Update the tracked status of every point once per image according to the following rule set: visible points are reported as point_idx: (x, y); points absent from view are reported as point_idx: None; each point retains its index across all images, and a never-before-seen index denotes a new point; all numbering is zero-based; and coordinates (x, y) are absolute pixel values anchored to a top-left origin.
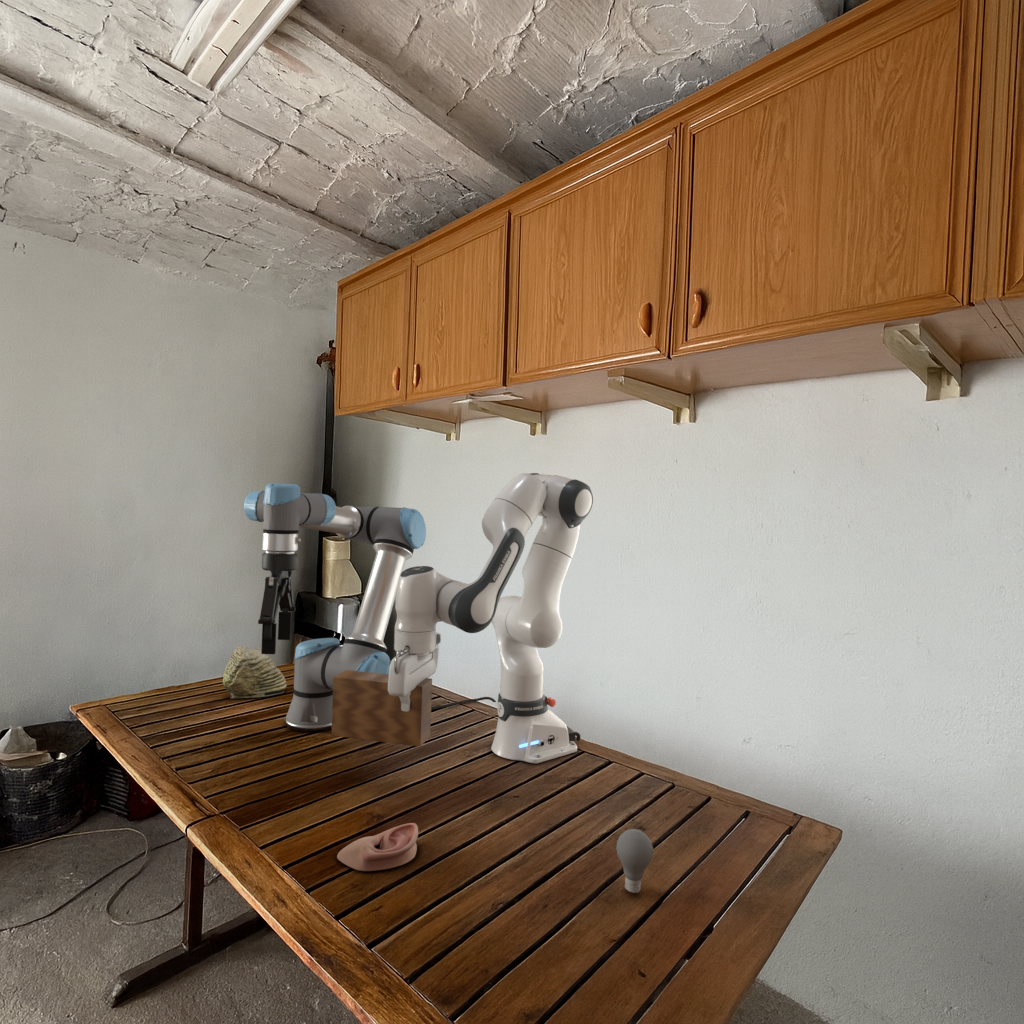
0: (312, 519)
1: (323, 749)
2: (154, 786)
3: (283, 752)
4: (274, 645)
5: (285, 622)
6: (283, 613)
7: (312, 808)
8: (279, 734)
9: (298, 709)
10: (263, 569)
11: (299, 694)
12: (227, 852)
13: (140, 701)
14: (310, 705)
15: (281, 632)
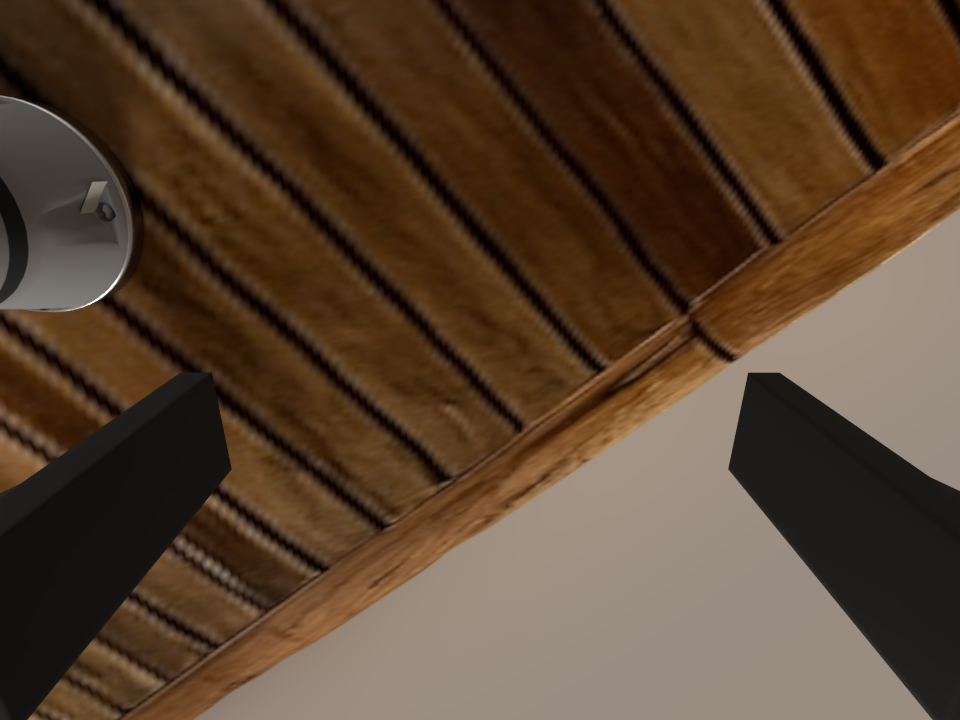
0: None
1: (276, 125)
2: (534, 490)
3: (316, 253)
4: (830, 410)
5: (104, 524)
6: (7, 658)
7: (700, 73)
8: (177, 301)
9: (74, 265)
10: None
11: (14, 278)
12: (877, 240)
13: None
14: (51, 219)
15: (190, 483)
